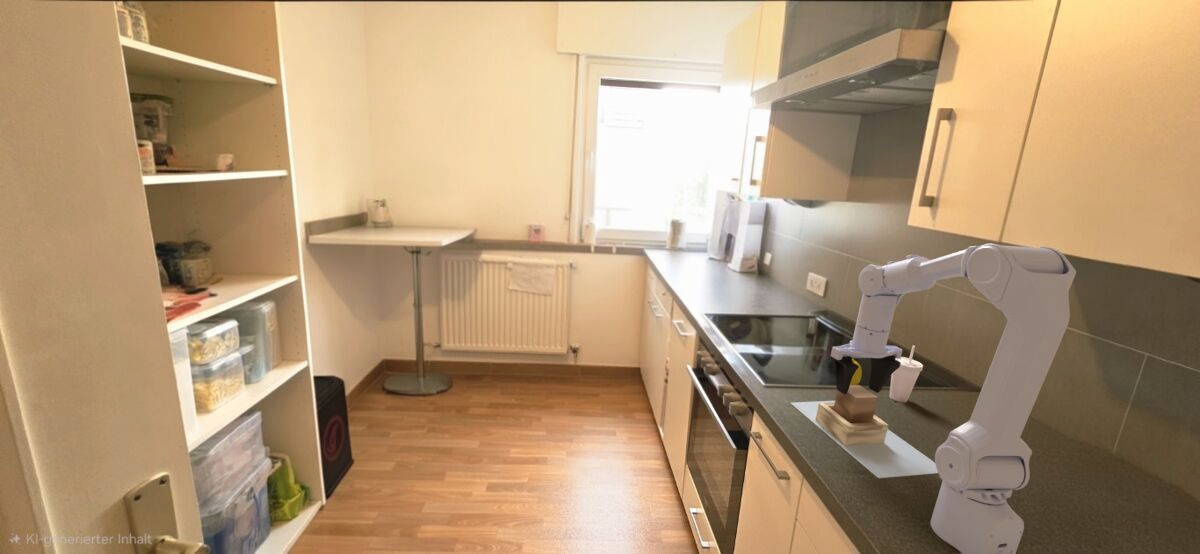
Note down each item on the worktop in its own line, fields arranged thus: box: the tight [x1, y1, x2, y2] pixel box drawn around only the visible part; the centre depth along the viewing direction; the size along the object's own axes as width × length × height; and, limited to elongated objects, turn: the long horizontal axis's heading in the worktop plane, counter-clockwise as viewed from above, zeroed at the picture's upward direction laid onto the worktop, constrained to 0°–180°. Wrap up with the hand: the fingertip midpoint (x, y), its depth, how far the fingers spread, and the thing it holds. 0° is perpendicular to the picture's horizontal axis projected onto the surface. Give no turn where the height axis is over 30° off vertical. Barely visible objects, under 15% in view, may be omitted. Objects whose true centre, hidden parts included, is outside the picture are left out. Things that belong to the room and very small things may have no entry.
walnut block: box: [833, 384, 879, 423], centre depth 95 cm, size 5×5×6 cm
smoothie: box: [889, 345, 924, 403], centre depth 113 cm, size 6×6×14 cm
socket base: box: [815, 403, 889, 446], centre depth 96 cm, size 9×9×4 cm
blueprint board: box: [790, 400, 939, 479], centre depth 96 cm, size 26×15×1 cm, turn 12°
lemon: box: [850, 358, 863, 385], centre depth 117 cm, size 6×6×8 cm
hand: (857, 390), depth 94 cm, fingers open, 7 cm apart
